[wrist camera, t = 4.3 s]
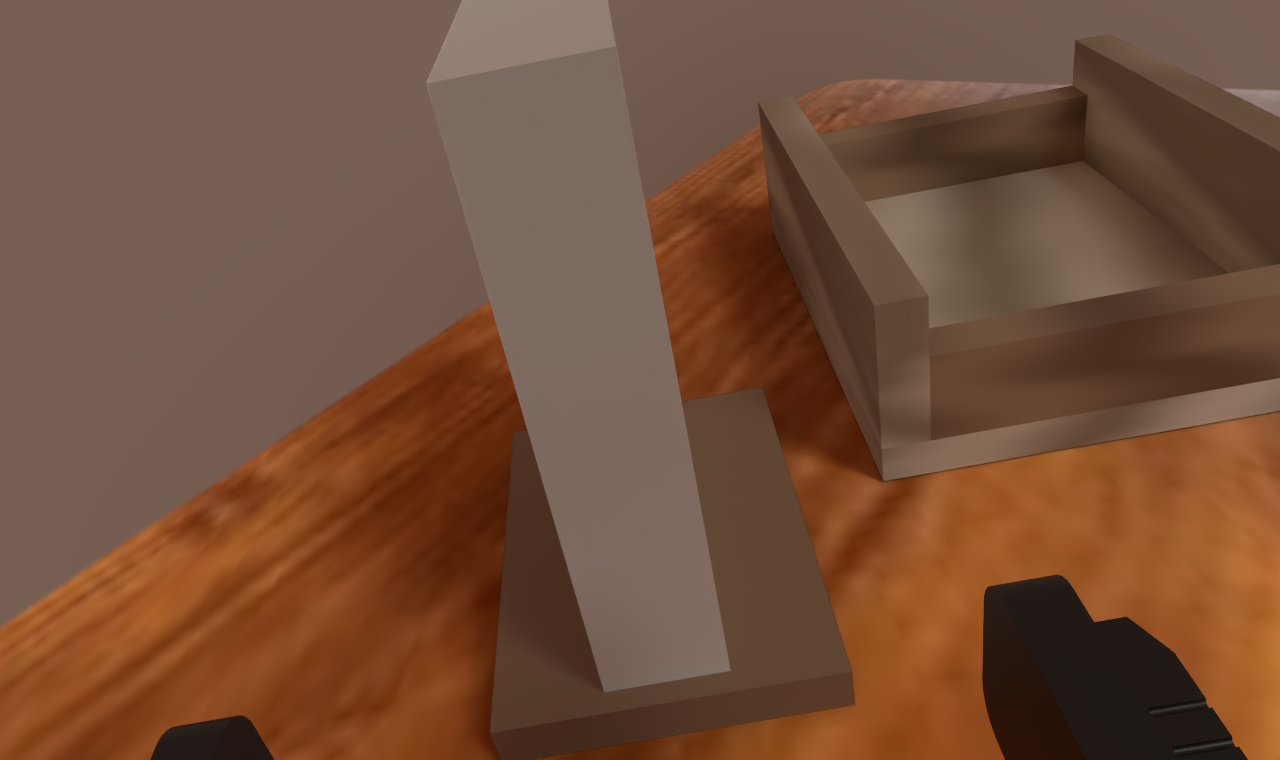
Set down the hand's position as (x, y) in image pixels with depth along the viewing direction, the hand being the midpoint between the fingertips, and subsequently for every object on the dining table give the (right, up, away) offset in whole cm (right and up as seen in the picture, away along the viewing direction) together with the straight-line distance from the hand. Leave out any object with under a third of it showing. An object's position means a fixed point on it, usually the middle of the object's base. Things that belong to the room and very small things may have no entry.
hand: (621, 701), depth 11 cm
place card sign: (+1, -1, +13) cm, 13 cm away
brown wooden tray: (+12, +6, +20) cm, 24 cm away
